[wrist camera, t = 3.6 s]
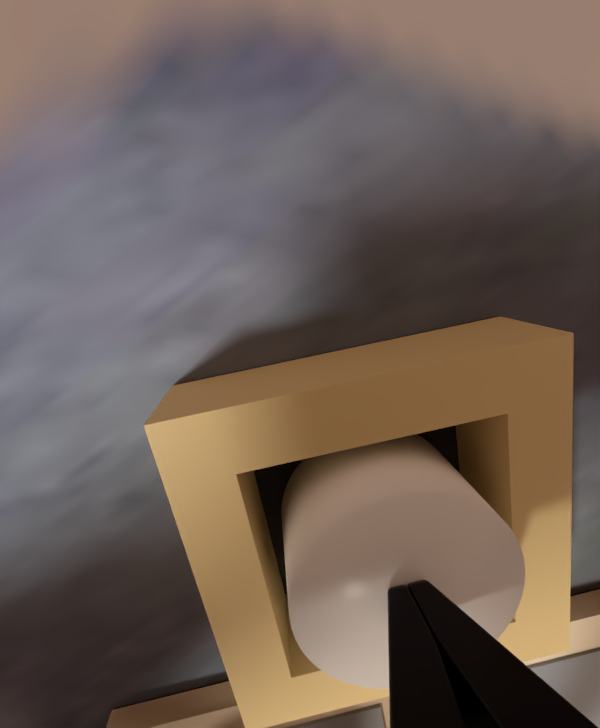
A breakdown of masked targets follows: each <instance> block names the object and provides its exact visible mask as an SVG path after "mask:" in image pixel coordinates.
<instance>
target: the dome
mask: <svg viewBox="0 0 600 728" xmlns="http://www.w3.org/2000/svg"><path fill="white" fill-rule="evenodd" d="M281 518H282V531H283V544H284V557H285V570H286V582H287V595H288V608H289V618H290V624H291V629H292V631H293V634H294V637H295V640H296V641H297V643H298V645H299V647H300V649H301V650H302V652H303V653H304V654H305V655H306V657H307V658H308V659H309V660H310V661H311V662H312V663H313V664H314V665H315V666H316V667H317V668H319V669H320V670H322V671H323V672H325V673H326V674H328V675H329V676H331V677H333V678H335V679H338V680H340V681H342V682H345V683H348V684H351V685H355V686H359V687H364V688H372V689H389V652H388V595H387V593H388V589H389V588H391V587H395V586H399V585H406V586H408V584H409V583H411V582H415V581H420V580H427V581H429V582H430V583H431V584H432V585H434V586H435V587H436V588H437V589H438V590H439V591H440V592H442V593H443V594H444V595H445V596H446V597H447V598H449V599H450V600H451V601H452V602H453V603H454V604H456V605H457V606H458V607H459V608H460V609H461V610H463V611H464V612H465V613H466V614H467V615H468V616H470V617H471V618H472V619H473V620H474V621H475V622H476V623H478V624H479V625H480V626H481V627H482V628H483V629H485V630H486V631H487V632H488V633H489V634H490V635H492V636H493V637H494V638H495V639H496V640H497V639H498V638H499V637H500V636H501V635H502V633H503V632H504V631H505V630H506V628H507V626H508V625H509V623H510V622H511V620H512V619H513V617H514V615H515V613H516V611H517V609H518V606H519V603H520V600H521V598H522V594H523V589H524V584H525V563H524V557H523V553H522V550H521V546H520V544H519V542H518V540H517V538H516V536H515V534H514V533H513V531H512V530H511V529H510V527H509V526H508V524H507V523H506V522H505V521H504V520H503V519H502V518H501V517H500V516H499V515H498V514H497V513H496V512H495V511H494V509H493V508H492V507H491V506H490V505H489V504H488V503H487V502H486V501H485V500H484V499H483V498H482V497H481V496H480V495H479V494H478V492H477V491H476V490H475V489H474V488H473V487H472V486H471V485H470V484H469V483H468V482H467V481H466V480H465V479H464V478H463V476H462V475H461V474H460V473H459V472H458V471H457V470H456V469H455V468H454V467H453V466H452V465H451V464H450V463H449V462H448V460H447V459H446V458H445V457H444V456H443V455H442V454H441V453H440V452H439V451H438V450H437V449H436V448H435V447H434V446H433V445H432V444H431V443H429V442H428V441H427V440H425V439H424V438H422V437H420V436H418V435H417V434H414V435H410V436H405V437H401V438H396V439H392V440H388V441H383V442H379V443H374V444H370V445H365V446H361V447H356V448H352V449H347V450H343V451H338V452H334V453H329V454H325V455H320V456H316V457H311V458H307V459H303V460H302V461H301V462H300V463H299V465H298V466H297V467H296V469H295V470H294V472H293V473H292V475H291V477H290V479H289V481H288V483H287V485H286V488H285V491H284V495H283V499H282V506H281Z"/></svg>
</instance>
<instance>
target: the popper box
mask: <svg viewBox="0 0 600 728" xmlns="http://www.w3.org/2000/svg"><path fill="white" fill-rule="evenodd" d="M573 356H574V333H572V332H567V331H563V330H558V329H554V328H549V327H545V326H541V325H536V324H532V323H527V322H523V321H518V320H514V319H510V318H505V317H501V316H500V317H495V318H491V319H486V320H481V321H476V322H472V323H467V324H462V325H458V326H453V327H448V328H443V329H439V330H434V331H429V332H424V333H420V334H415V335H410V336H405V337H401V338H396V339H391V340H387V341H382V342H377V343H372V344H368V345H363V346H358V347H353V348H349V349H344V350H339V351H334V352H330V353H325V354H320V355H315V356H311V357H306V358H301V359H297V360H292V361H287V362H282V363H278V364H273V365H268V366H263V367H259V368H254V369H249V370H244V371H240V372H235V373H230V374H226V375H221V376H216V377H211V378H207V379H202V380H197V381H192V382H188V383H183V384H178V385H173V386H172V387H171V388H170V390H169V391H168V393H167V394H166V395H165V397H164V398H163V399H162V401H161V402H160V404H159V405H158V406H157V408H156V409H155V411H154V412H153V413H152V415H151V416H150V417H149V419H148V420H147V422H146V423H145V424H144V428H145V431H146V434H147V437H148V440H149V443H150V446H151V449H152V452H153V455H154V458H155V461H156V464H157V467H158V470H159V473H160V476H161V479H162V482H163V485H164V488H165V491H166V494H167V497H168V500H169V503H170V506H171V509H172V512H173V515H174V518H175V521H176V524H177V527H178V529H179V532H180V535H181V538H182V541H183V544H184V547H185V550H186V553H187V556H188V559H189V562H190V565H191V568H192V571H193V574H194V577H195V580H196V583H197V586H198V589H199V592H200V595H201V598H202V601H203V604H204V607H205V610H206V613H207V616H208V619H209V622H210V625H211V628H212V631H213V634H214V637H215V640H216V643H217V646H218V649H219V652H220V655H221V658H222V661H223V664H224V666H225V669H226V672H227V675H228V678H229V681H230V684H231V687H232V690H233V693H234V696H235V699H236V702H237V705H238V708H239V711H240V714H241V717H242V720H243V723H244V726H245V728H266V727H270V726H274V725H278V724H282V723H286V722H290V721H294V720H297V719H301V718H305V717H309V716H313V715H317V714H321V713H325V712H329V711H333V710H337V709H341V708H345V707H349V706H352V705H356V704H360V703H364V702H368V701H372V700H376V699H380V698H384V697H388V696H389V689H372V688H364V687H359V686H355V685H351V684H348V683H345V682H342V681H340V680H338V679H335V678H333V677H331V676H329V675H328V674H326V673H325V672H323V671H322V670H320V669H319V668H317V667H316V666H315V665H314V664H313V663H312V662H311V661H310V660H309V659H308V658H307V657H306V655H305V654H304V653H303V652H302V650H301V649H300V647H299V645H298V643H297V641H296V640H295V637H294V634H293V631H292V629H291V624H290V618H289V608H288V595H287V594H285V591H284V587H283V583H282V579H281V576H280V572H279V568H278V564H277V560H276V556H275V552H274V548H273V544H272V540H271V536H270V533H269V529H268V525H267V521H266V517H265V513H264V509H263V505H262V501H261V497H260V493H259V489H258V486H257V482H256V478H255V474H254V470H258V469H262V468H267V467H271V466H276V465H280V464H285V463H289V462H293V461H298V460H302V459H307V458H311V457H316V456H320V455H325V454H329V453H334V452H338V451H343V450H347V449H352V448H356V447H361V446H365V445H370V444H374V443H379V442H383V441H388V440H392V439H396V438H401V437H405V436H410V435H414V434H419V433H423V432H428V431H432V430H437V429H441V428H446V427H450V426H455V425H456V436H457V448H458V461H459V473H460V474H461V475H462V476H463V478H464V479H465V480H466V481H467V482H468V483H469V484H470V485H471V486H472V487H473V488H474V489H475V490H476V491H477V492H478V494H479V495H480V496H481V497H482V498H483V499H484V500H485V501H486V502H487V503H488V504H489V505H490V506H491V507H492V508H493V509H494V511H495V512H496V513H497V514H498V515H499V516H500V517H501V518H502V519H503V520H504V521H505V522H506V523H507V524H508V526H509V527H510V529H511V530H512V531H513V533H514V534H515V536H516V538H517V540H518V542H519V544H520V546H521V550H522V553H523V557H524V563H525V584H524V589H523V594H522V598H521V600H520V603H519V606H518V609H517V611H516V613H515V615H514V617H513V619H512V620H511V622H510V623H509V625H508V626H507V628H506V630H505V631H504V632H503V633H502V635H501V636H500V637H499V638H498V639H497V641H499V642H500V643H501V644H502V645H503V646H504V647H505V648H507V649H508V650H509V651H510V652H511V653H512V654H514V655H515V656H516V657H517V658H518V659H519V660H521V661H522V662H525V661H529V660H533V659H537V658H541V657H545V656H549V655H553V654H557V653H561V652H565V651H569V650H570V588H571V511H572V433H573Z"/></svg>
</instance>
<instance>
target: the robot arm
mask: <svg viewBox="0 0 600 728" xmlns="http://www.w3.org/2000/svg"><path fill="white" fill-rule="evenodd" d="M387 595H388V652H389V709H390V728H598V727H597V726H596V725H595V724H594V723H593V722H591V721H590V720H589V719H588V718H587V717H586V716H584V715H583V714H582V713H581V712H580V711H579V710H577V709H576V708H575V707H574V706H573V705H572V704H570V703H569V702H568V701H567V700H566V699H565V698H564V697H562V696H561V695H560V694H559V693H558V692H557V691H555V690H554V689H553V688H552V687H551V686H550V685H548V684H547V683H546V682H545V681H544V680H543V679H541V678H540V677H539V676H538V675H537V674H536V673H535V672H533V671H532V670H531V669H530V668H529V667H528V666H526V665H525V664H524V663H523V662H522V661H521V660H519V659H518V658H517V657H516V656H515V655H514V654H512V653H511V652H510V651H509V650H508V649H507V648H505V647H504V646H503V645H502V644H501V643H500V642H499V641H497V640H496V639H495V638H494V637H493V636H492V635H490V634H489V633H488V632H487V631H486V630H485V629H483V628H482V627H481V626H480V625H479V624H478V623H476V622H475V621H474V620H473V619H472V618H471V617H470V616H468V615H467V614H466V613H465V612H464V611H463V610H461V609H460V608H459V607H458V606H457V605H456V604H454V603H453V602H452V601H451V600H450V599H449V598H447V597H446V596H445V595H444V594H443V593H442V592H440V591H439V590H438V589H437V588H436V587H435V586H434V585H432V584H431V583H430V582H429V581H427V580H420V581H415V582H411V583H409V584H408V586H406V585H399V586H395V587H391V588H389V589H388V593H387Z"/></svg>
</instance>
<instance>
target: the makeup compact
mask: <svg viewBox="0 0 600 728" xmlns="http://www.w3.org/2000/svg"><path fill="white" fill-rule="evenodd" d="M523 663H524V664H525V665H526V666H528V667H529V668H530V669H531V670H532V671H533V672H535V673H536V674H537V675H538V676H539V677H540V678H541V679H543V680H544V681H545V682H546V683H547V684H548V685H550V686H551V687H552V688H553V689H554V690H555V691H557V692H558V693H559V694H560V695H561V696H562V697H564V698H565V699H566V700H567V701H568V702H569V703H570V704H572V705H573V706H574V707H575V708H576V709H577V710H579V711H580V712H581V713H582V714H583V715H584V716H586V717H587V718H588V719H589V720H590V721H591V722H593V723H594V724H595V725H596V726H597V727H598V728H600V589H599V590H595V591H590V592H586V593H582V594H578V595H574V596H570V650H569V651H565V652H561V653H557V654H553V655H549V656H545V657H541V658H537V659H533V660H529V661H525V662H523ZM106 728H245V726H244V723H243V720H242V717H241V714H240V711H239V708H238V705H237V702H236V699H235V696H234V693H233V690H232V687H231V684H230V681H227V682H223V683H219V684H215V685H211V686H207V687H203V688H199V689H195V690H191V691H187V692H183V693H179V694H175V695H171V696H167V697H163V698H159V699H155V700H151V701H147V702H143V703H138V704H134V705H130V706H126V707H122V708H118V709H114V710H112V711H111V714H110V717H109V720H108V723H107V726H106ZM266 728H390V709H389V696H388V697H384V698H380V699H376V700H372V701H368V702H364V703H360V704H356V705H352V706H349V707H345V708H341V709H337V710H333V711H329V712H325V713H321V714H317V715H313V716H309V717H305V718H301V719H297V720H294V721H290V722H286V723H282V724H278V725H274V726H270V727H266Z"/></svg>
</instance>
